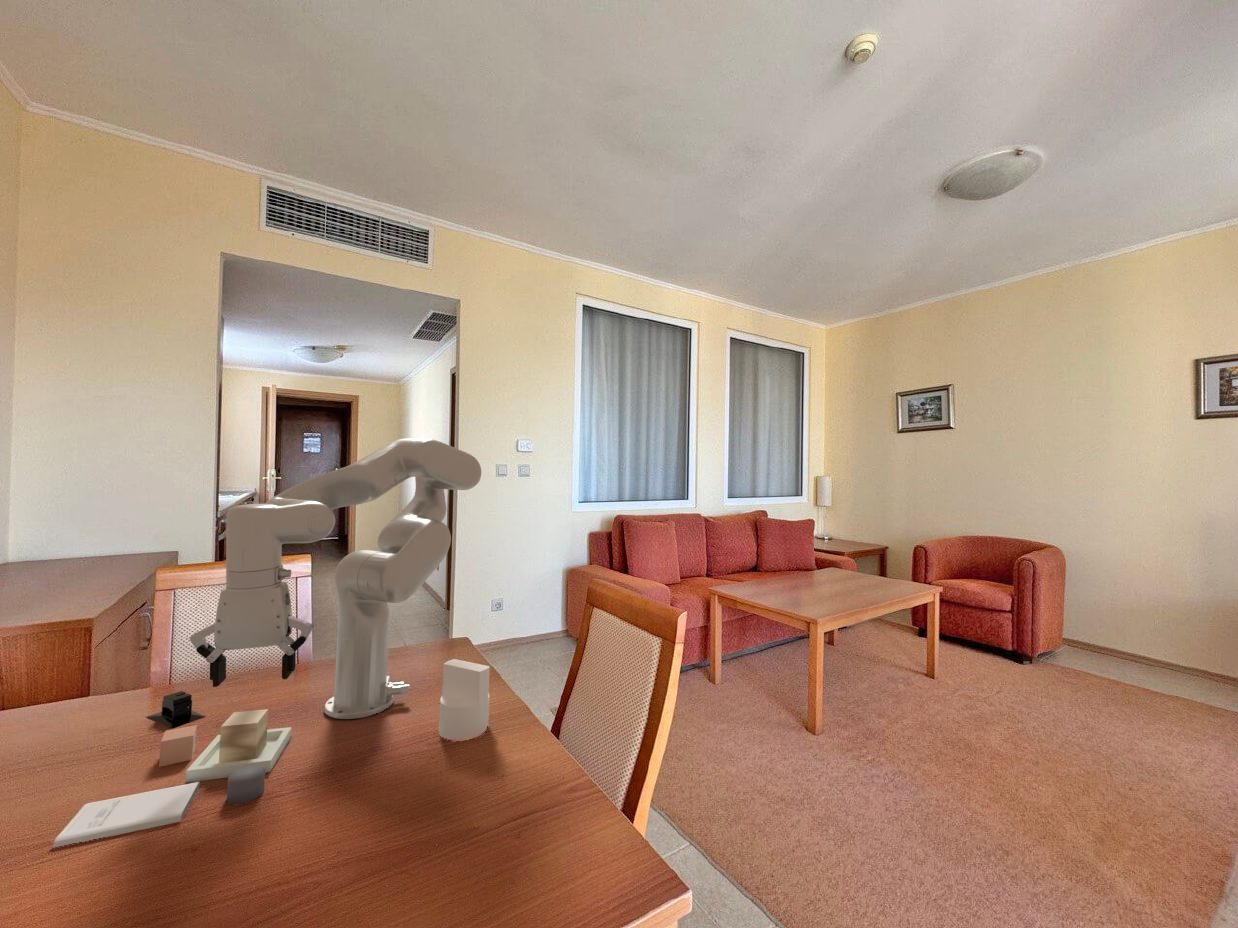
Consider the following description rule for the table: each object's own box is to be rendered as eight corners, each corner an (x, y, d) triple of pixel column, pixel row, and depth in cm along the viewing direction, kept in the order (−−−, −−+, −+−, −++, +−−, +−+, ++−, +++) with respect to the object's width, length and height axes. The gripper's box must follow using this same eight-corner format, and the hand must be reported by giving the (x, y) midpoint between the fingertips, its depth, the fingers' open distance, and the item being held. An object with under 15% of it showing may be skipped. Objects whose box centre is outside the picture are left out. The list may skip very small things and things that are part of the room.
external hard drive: (180, 825, 68) (52, 853, 62) (199, 791, 75) (85, 812, 70) (181, 813, 68) (53, 839, 62) (199, 780, 75) (86, 800, 70)
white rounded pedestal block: (427, 734, 93) (430, 668, 93) (460, 714, 101) (463, 653, 101) (467, 745, 89) (470, 677, 90) (497, 723, 98) (500, 661, 98)
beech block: (266, 744, 86) (268, 708, 86) (255, 760, 81) (257, 722, 82) (231, 748, 85) (233, 712, 85) (218, 764, 80) (220, 726, 80)
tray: (291, 737, 90) (291, 726, 90) (270, 771, 80) (271, 760, 80) (217, 745, 86) (218, 734, 86) (185, 782, 76) (186, 770, 76)
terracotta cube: (195, 748, 85) (196, 724, 86) (191, 760, 82) (193, 735, 82) (164, 755, 83) (165, 730, 83) (159, 767, 80) (160, 741, 80)
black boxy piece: (215, 719, 96) (217, 695, 96) (168, 736, 90) (170, 710, 90) (181, 705, 102) (182, 682, 102) (134, 720, 95) (135, 695, 95)
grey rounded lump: (268, 783, 77) (269, 763, 77) (258, 801, 72) (259, 780, 73) (233, 788, 75) (234, 768, 75) (221, 807, 71) (222, 785, 71)
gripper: (318, 570, 90) (318, 664, 91) (202, 576, 85) (202, 676, 85) (307, 580, 83) (306, 682, 83) (179, 587, 78) (179, 696, 78)
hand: (253, 679), depth 84 cm, fingers open, 9 cm apart
